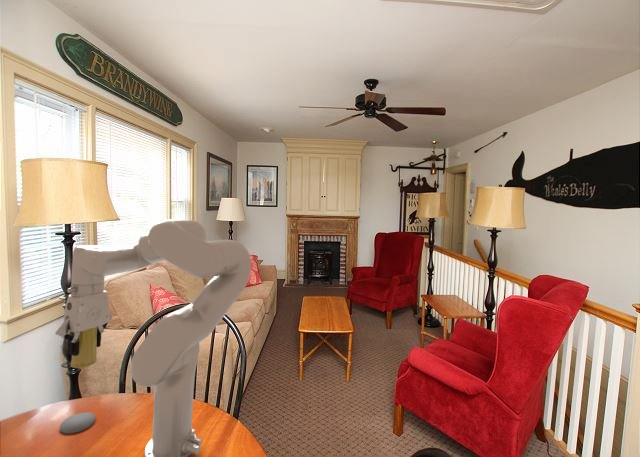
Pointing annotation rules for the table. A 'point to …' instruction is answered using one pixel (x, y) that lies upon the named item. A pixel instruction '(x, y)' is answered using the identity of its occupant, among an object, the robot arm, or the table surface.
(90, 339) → the vase
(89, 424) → the coaster
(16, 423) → the table surface
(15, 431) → the table surface
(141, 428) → the table surface
